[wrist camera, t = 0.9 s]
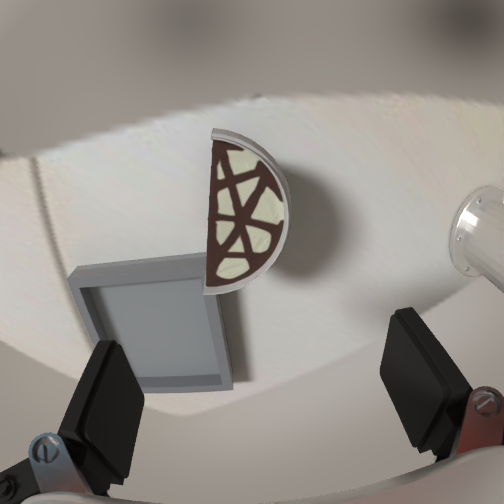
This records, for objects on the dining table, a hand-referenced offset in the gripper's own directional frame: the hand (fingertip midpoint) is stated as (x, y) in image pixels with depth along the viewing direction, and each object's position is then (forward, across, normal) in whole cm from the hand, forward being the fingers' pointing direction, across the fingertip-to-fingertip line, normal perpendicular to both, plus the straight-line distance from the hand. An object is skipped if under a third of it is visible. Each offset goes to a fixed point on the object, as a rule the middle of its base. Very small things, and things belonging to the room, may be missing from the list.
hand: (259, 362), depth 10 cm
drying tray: (+22, +12, +15) cm, 29 cm away
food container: (+22, 0, 0) cm, 23 cm away
